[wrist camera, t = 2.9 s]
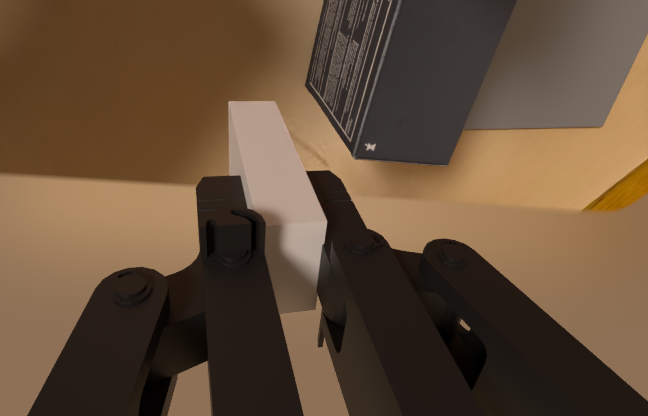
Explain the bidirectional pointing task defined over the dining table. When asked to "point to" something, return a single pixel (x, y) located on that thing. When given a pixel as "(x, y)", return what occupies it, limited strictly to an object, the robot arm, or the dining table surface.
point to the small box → (403, 72)
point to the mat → (560, 64)
